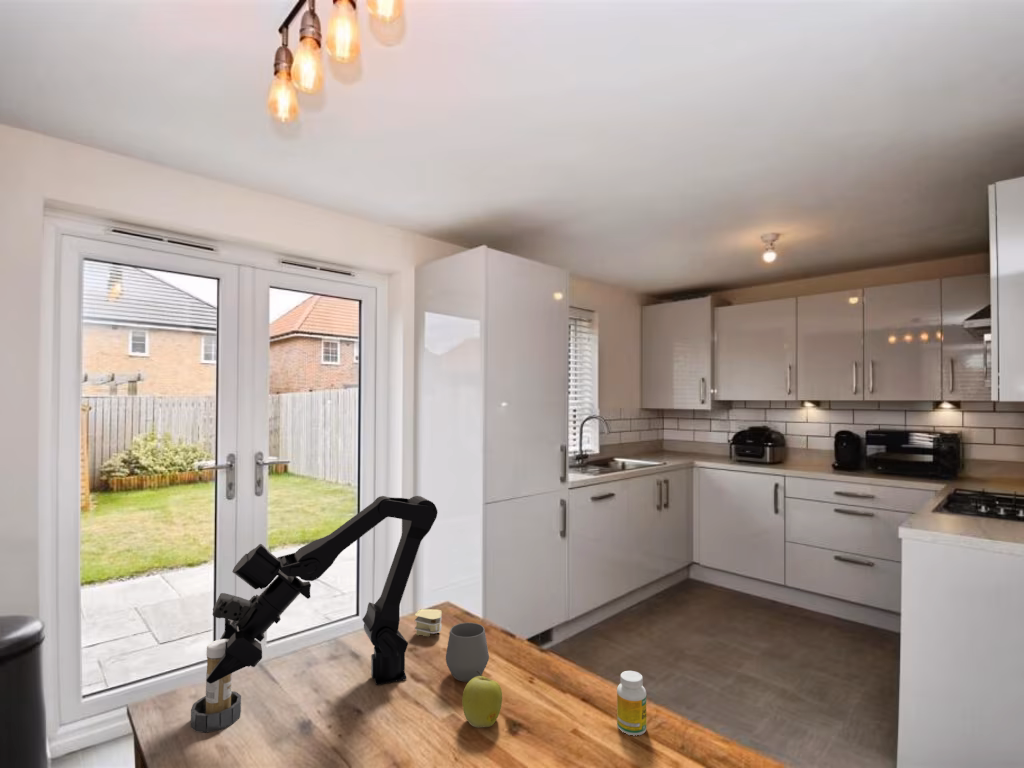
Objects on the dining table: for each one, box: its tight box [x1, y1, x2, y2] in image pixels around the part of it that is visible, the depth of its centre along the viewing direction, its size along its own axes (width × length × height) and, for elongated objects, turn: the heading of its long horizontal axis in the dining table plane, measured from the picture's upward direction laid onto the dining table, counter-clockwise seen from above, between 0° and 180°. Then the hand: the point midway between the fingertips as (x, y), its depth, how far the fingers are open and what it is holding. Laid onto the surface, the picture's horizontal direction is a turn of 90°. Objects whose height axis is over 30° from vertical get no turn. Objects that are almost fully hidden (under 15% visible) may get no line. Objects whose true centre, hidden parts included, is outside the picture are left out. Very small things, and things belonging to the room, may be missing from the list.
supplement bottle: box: [616, 670, 647, 737], centre depth 100 cm, size 5×5×10 cm
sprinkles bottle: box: [205, 639, 233, 714], centre depth 104 cm, size 5×5×14 cm
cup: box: [445, 622, 490, 683], centre depth 119 cm, size 10×9×10 cm
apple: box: [461, 671, 503, 728], centre depth 103 cm, size 8×8×10 cm
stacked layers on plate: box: [414, 608, 443, 637], centre depth 140 cm, size 10×9×6 cm
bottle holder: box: [190, 690, 242, 734], centre depth 103 cm, size 8×8×3 cm
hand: (208, 671), depth 103 cm, fingers open, 8 cm apart
